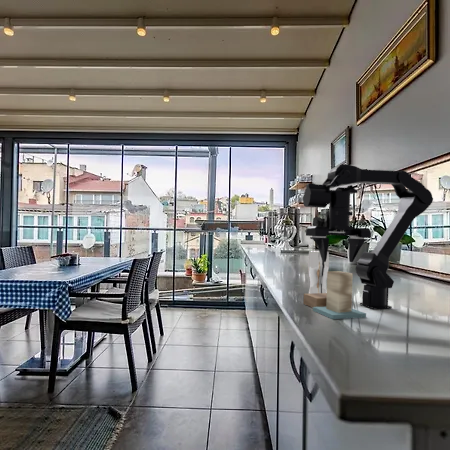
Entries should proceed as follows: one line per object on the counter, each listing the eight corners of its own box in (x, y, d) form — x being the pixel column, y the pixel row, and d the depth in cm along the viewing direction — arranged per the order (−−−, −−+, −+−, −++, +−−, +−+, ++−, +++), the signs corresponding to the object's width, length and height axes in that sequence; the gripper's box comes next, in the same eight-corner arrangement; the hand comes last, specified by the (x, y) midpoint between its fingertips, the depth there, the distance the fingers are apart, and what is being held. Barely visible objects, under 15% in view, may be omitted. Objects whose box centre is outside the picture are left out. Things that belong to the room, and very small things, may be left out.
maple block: (338, 307, 95) (339, 271, 95) (351, 311, 91) (352, 273, 91) (326, 308, 92) (327, 271, 93) (338, 312, 88) (339, 273, 89)
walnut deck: (326, 302, 105) (326, 293, 105) (340, 308, 99) (341, 297, 99) (303, 303, 103) (303, 293, 103) (316, 309, 96) (316, 298, 96)
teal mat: (344, 309, 97) (344, 305, 97) (366, 317, 89) (366, 313, 89) (312, 310, 94) (313, 306, 94) (332, 319, 86) (332, 315, 86)
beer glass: (330, 294, 120) (331, 251, 121) (324, 297, 114) (325, 252, 115) (310, 292, 124) (312, 250, 124) (304, 294, 118) (305, 250, 118)
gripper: (348, 211, 111) (347, 259, 111) (297, 208, 106) (295, 259, 106) (373, 209, 101) (371, 263, 101) (317, 206, 95) (315, 262, 95)
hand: (337, 261), depth 101 cm, fingers open, 9 cm apart
